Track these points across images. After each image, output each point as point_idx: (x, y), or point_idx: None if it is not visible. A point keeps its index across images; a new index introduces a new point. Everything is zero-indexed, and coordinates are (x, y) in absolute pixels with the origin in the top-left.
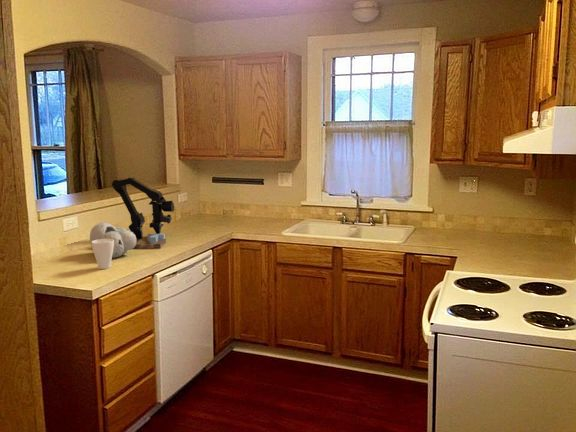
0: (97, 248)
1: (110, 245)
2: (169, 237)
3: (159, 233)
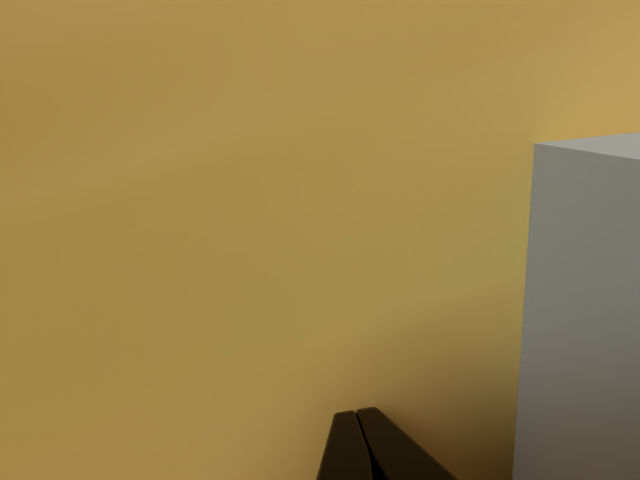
0: None
1: None
2: (157, 125)
3: (436, 460)
